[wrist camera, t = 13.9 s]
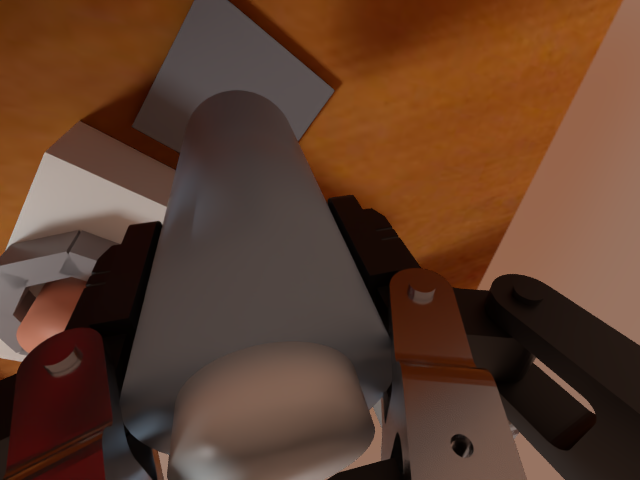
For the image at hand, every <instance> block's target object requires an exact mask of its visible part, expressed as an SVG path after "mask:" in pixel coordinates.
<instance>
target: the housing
mask: <svg viewBox="0 0 640 480" xmlns="http://www.w3.org/2000/svg"><path fill="white" fill-rule="evenodd" d="M175 172H176V170H174V169H173V168H171V167H169V166H167V165H165V164H163V163H161V162H159V161H157V160H155V159H153V158H151V157H149V156H147V155H145V154H143V153H141V152H139V151H137V150H136V149H134V148H132V147H130V146H128V145H126V144H124V143H122V142H120V141H118V140H116V139H114V138H112V137H110V136H108V135H106V134H104V133H102V132H100V131H98V130H97V129H95V128H93V127H91V126H89V125H87V124H85V123H83V122H81V121H79V122H77V123H76V124H75V125H74V126H73V127H72V128H71V129H70V130H69V131H68V132H66V133H65V134H64V135H63V136H62V137H61V138H60V139H59V140H58V141H57V142H55V143H54V144H53V145H52V146H51V147H50V148H49V149H48V150H47V151H46V152H45V153H44V156H43V158H42V161H41V163H40V166H39V168H38V171H37V173H36V176H35V178H34V181H33V183H32V185H31V188H30V190H29V193H28V195H27V198H26V200H25V203H24V205H23V208H22V210H21V213H20V215H19V218H18V220H17V223H16V225H15V228H14V230H13V233H12V235H11V238H10V240H9V243H8V245H7V248H6V250H5V252H4V253H3V254H2V256H1V257H0V358H4V359H10V360H16V361H21V362H22V361H23V360H24V359H25V357H26V356H27V355H28V354H29V353H27V352H26V351H25V350H24V349H23V348H22V347H21V346H20V344H19V343H18V341H17V337H16V333H17V329H18V327H19V326H20V324H21V322H22V321H23V319H24V317H25V316H26V314H27V312H28V311H29V309H30V307H31V306H32V304H33V303H34V301H35V299H36V298H37V296H38V294H39V293H40V291H41V289H42V288H43V286H44V284H45V283H46V282H50V281H55V280H59V279H64V278H68V277H74V278H77V279H81V280H84V281H88V279H89V277H90V276H92V274H91V272H92V270H93V268H94V266H95V264H96V262H97V259H98V258H99V257H100V256H101V255H102V254H103V253H104V252H106V251H107V250H108V249H109V248H110V247H111V246H112V245H119V244H121V243H122V241H123V238H124V236H125V233H126V231H127V228H128V226H129V225H132V224H139V223H146V222H154V221H160V222H161V223H162V225H163V221H164V217H165V212H166V208H167V204H168V200H169V196H170V192H171V188H172V184H173V180H174V176H175Z"/></svg>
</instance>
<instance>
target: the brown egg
mask: <svg viewBox="0 0 640 480" xmlns="http://www.w3.org/2000/svg"><path fill="white" fill-rule="evenodd" d="M86 283H87V281H84V280H81V279H77V278H74V277H68V278H64V279H59V280H55V281H50V282H46V283H45V284H44V286H43V288H42V289H41V291H40V293H39V294H38V296H37V298H36V299H35V301H34V303H33V304H32V306H31V307H30V309H29V311H28V312H27V314H26V316H25V317H24V319H23V321H22V322H21V324H20V326H19V327H18V329H17V333H16V337H17V341H18V343H19V344H20V346H21V347H22V348H23V349H24V350H25V351H26V352H27V353H30V352H31V351H32V350H33V349H34V348H35V347H36V346H38V345H39V344H40V343H42V342H43V341H45V340H46V339H48V338H50V337H52V336H53V335H56V334H58V333H60V332H63V331H64V330H65V328H66V326H67V324H68V321H69V319H70V317H71V315H72V313H73V311H74V309H75V306H76V304H77V302H78V300H79V298H80V296H81V294H82V292H83V289H84V288H86Z"/></svg>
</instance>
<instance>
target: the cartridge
mask: <svg viewBox="0 0 640 480" xmlns="http://www.w3.org/2000/svg"><path fill="white" fill-rule="evenodd" d="M391 342H392V341H391V339H390V337H389V335H388V333H387V330H386V328H385V326H384V324H383V322H382V320H381V318H380V316H379V313H378V311H377V309H376V307H375V305H374V303H373V301H372V298H371V296H370V294H369V292H368V290H367V288H366V286H365V284H364V281H363V279H362V277H361V275H360V273H359V271H358V269H357V267H356V264H355V262H354V260H353V258H352V256H351V254H350V252H349V249H348V247H347V245H346V243H345V241H344V239H343V237H342V235H341V232H340V230H339V228H338V226H337V224H336V222H335V220H334V218H333V215H332V213H331V211H330V209H329V207H328V205H327V203H326V200H325V198H324V196H323V194H322V192H321V190H320V188H319V186H318V183H317V181H316V179H315V177H314V175H313V173H312V171H311V168H310V166H309V164H308V162H307V160H306V158H305V156H304V154H303V151H302V149H301V147H300V145H299V143H298V141H297V139H296V137H295V134H294V132H293V130H292V128H291V126H290V124H289V122H288V120H287V118H286V116H285V115H284V113H283V112H282V111H281V110H280V109H279V108H278V107H277V106H276V105H275V104H274V103H273V102H271V101H270V100H268V99H267V98H265V97H263V96H261V95H259V94H256V93H253V92H249V91H242V90H230V91H225V92H221V93H218V94H215V95H213V96H211V97H209V98H208V99H206V100H205V101H203V102H202V103H201V104H200V105H199V106H198V107H197V108H196V109H195V111H194V112H193V113H192V115H191V117H190V119H189V121H188V124H187V127H186V131H185V135H184V139H183V144H182V148H181V152H180V156H179V160H178V164H177V168H176V172H175V176H174V180H173V184H172V188H171V192H170V196H169V200H168V204H167V208H166V212H165V217H164V221H163V225H162V229H161V233H160V237H159V241H158V245H157V249H156V253H155V257H154V261H153V265H152V269H151V273H150V277H149V281H148V286H147V290H146V294H145V298H144V302H143V306H142V310H141V314H140V318H139V322H138V326H137V330H136V334H135V338H134V342H133V346H132V350H131V354H130V359H129V363H128V367H127V371H126V375H125V379H124V383H123V387H122V391H121V396H120V402H119V405H120V406H121V411H122V418H123V423H124V425H125V426H126V428H127V429H128V430H129V432H130V433H131V434H132V435H133V436H134V437H135V438H137V439H138V440H139V441H140V442H142V443H144V444H145V445H147V446H148V447H150V448H151V447H152V448H153V449H155V450H157V451H159V452H162V453H166V454H169V461H168V471H167V478H168V480H324V479H326V478H328V477H330V476H332V475H334V474H336V473H337V472H339V471H341V470H342V469H344V468H346V467H347V466H349V465H350V464H351V463H353V462H354V461H355V460H357V459H358V458H359V457H360V456H361V455H362V454H363V453H364V452H365V451H366V450H367V448H368V447H369V446H370V444H371V442H372V440H373V438H374V434H375V427H374V424H373V421H372V418H371V415H370V412H369V410H370V409H371V408H372V407H373V406H374V405H375V404H376V403H377V402H378V401H379V400H380V399H381V398H382V395H383V392H385V391H387V389H388V388H389V386H390V384H391V382H392V365H391V349H390V348H391Z"/></svg>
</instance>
